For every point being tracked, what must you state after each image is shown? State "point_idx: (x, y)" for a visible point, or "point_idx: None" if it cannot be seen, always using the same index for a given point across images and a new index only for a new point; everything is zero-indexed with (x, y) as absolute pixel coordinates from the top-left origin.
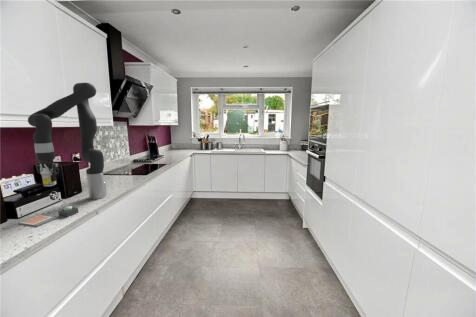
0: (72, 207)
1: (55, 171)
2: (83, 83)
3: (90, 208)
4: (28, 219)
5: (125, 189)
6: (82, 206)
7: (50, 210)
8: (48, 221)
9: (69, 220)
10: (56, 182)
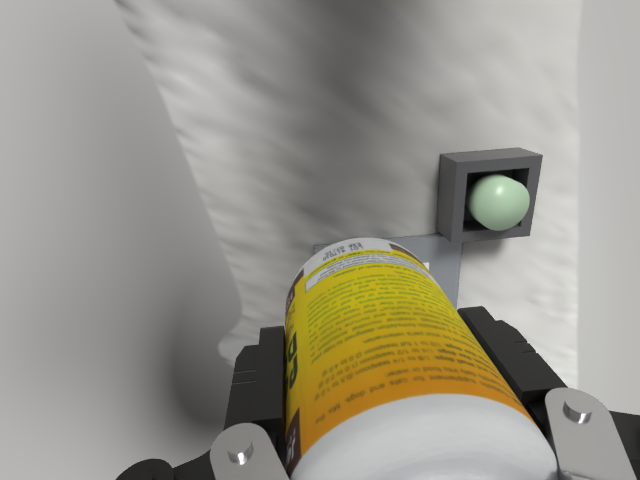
0: (497, 166)
1: (625, 459)
2: None
3: (549, 52)
4: None
5: None
6: (448, 39)
7: (280, 186)
8: (455, 297)
9: (553, 245)
10: (412, 256)
